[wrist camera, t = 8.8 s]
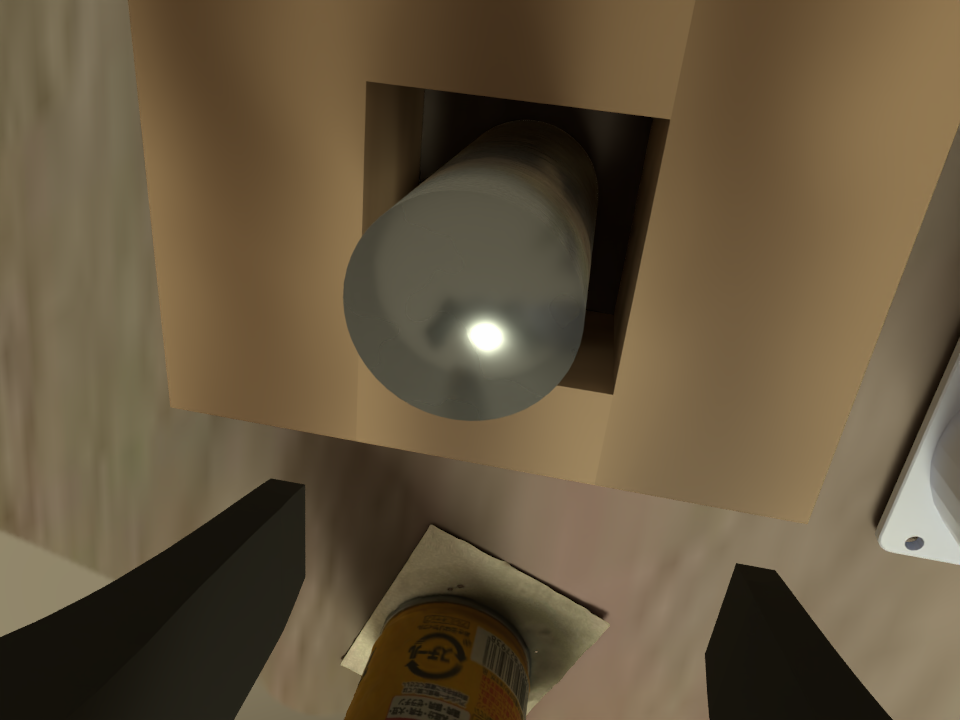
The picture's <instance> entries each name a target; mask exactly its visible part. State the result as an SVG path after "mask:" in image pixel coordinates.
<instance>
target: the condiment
mask: <svg viewBox="0 0 960 720" xmlns="http://www.w3.org/2000/svg"><path fill="white" fill-rule="evenodd" d="M457 585H464V586H465V587H463V588H457ZM448 588H453V589H454V590H453V591H448V590H447V589H448ZM609 626H610V624H609V623H607V622H605V621H604V620H602V619H601V618H599V617H597V616H595V615H593V614H591V613H590V612H589V611H588V610H587V609H586V608H584V607H582V606H580V605H578V604H576V603H575V602H573V601H572V600H570V599H568V598H566V597H565V596H563V595H561V594H559V593H557V592H555V591H553V590H552V589H550V588H549V587H548V586H546V585H544V584H542V583H541V582H539V581H537V580H535V579H533V578H531V577H529V576H527V575H525V574H524V573H522V572H520V571H518V570H516V569H514V568H513V567H511V566H510V565H509V564H508V563H507V562H505V561H500V560H498V559H496V558H493V557H491V556H489V555H487V554H486V553H484V552H481V551H480V550H478V549H477V548H475V547H474V546H472V545H470V544H469V543H467V542H465V541H463V540H460V539H457V538H455V537H454V536H452V535H450V534H448V533H446V532H444V531H442V530H440V529H439V528H437V527H435V526H433V525H430V527H429V528H428V530H427V531H426V533H425V534H424V536H423V538H422V539H421V541H420V542H419V544H418V545H417V547H416V548H415V550H414V551H413V553H412V554H411V556H410V558H409V559H408V561H407V563H406V564H405V565H404V567H403V569H402V570H401V572H400V573H399V575H398V576H397V578H396V579H395V581H394V582H393V584H392V585H391V587H390V588H389V590H388V591H387V593H386V594H385V596H384V597H383V599H382V600H381V602H380V603H379V605H378V606H377V608H376V610H375V611H374V613H373V614H372V616H371V617H370V619H369V620H368V622H367V623H366V625H365V627H364V628H363V630H362V631H361V633H360V634H359V636H358V637H357V639H356V641H355V642H354V644H353V645H352V647H351V648H350V650H349V651H348V653H347V655H346V656H345V658H344V659H343V661H342V663H341V664H340V665H342V666H344V667H347V668H349V669H351V670H352V671H354V672H356V673H358V674H360V675H362V676H361V680H360V682H359V684H358V687H357V689H356V693H355V694H354V698H353V700H352V702H351V705H350V706H349V708H348V710H347V713H346V717H345V719H344V720H526V715H527V714H528V713H529V711H530V710H531V709H532V708H533V707H534V706H535V705H536V704H537V703H538V702H539V701H540V700H541V698H542V697H543V696H544V695H545V694H546V693H547V692H548V691H549V690H550V689H552V687H553V686H554V685H555V684H557V683H558V682H559V681H560V680H561V679H562V678H563V676H564V675H565V673H566V672H567V671H568V670H569V669H570V668H571V667H572V666H573V665H574V664H575V662H576V661H577V660H578V659H579V658H580V657H581V656H582V654H583V653H584V652H585V651H586V650H587V649H588V648H590V647H591V646H592V645H593V644H594V643H595V642H596V641H597V640H598V639H599V637H600V636H601V635H602V634H603V633H604V632H605V630H606V629H607V628H608V627H609ZM535 651H538V652H537V653H535Z"/></svg>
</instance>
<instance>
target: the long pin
mask: <svg viewBox="0 0 960 720" xmlns="http://www.w3.org/2000/svg"><path fill="white" fill-rule="evenodd" d="M598 195H599V193H598V182H597V177H596V173H595V170H594V167H593V164H592V162H591V160H590V158H589V156H588V155H587V153H586V152H585V150H584V149H583V147H582V146H581V145H580V144H579V143H578V142H577V141H576V140H575V139H574V138H573V137H572V136H570V135H569V134H568V133H566V132H565V131H563V130H562V129H560V128H558V127H556V126H554V125H551V124H548V123H545V122H542V121H536V120H515V121H510V122H506V123H502V124H500V125H497V126H495V127H493V128H491V129H490V130H488V131H486V132H485V133H483V134H482V135H481V136H479V137H478V138H477V139H476V140H474V141H473V142H472V143H471V144H469V145H468V146H467V147H466V148H465V149H463V150H462V151H461V152H460V153H458V154H457V155H456V156H455V157H453V158H452V159H451V160H450V161H448V162H447V163H446V164H445V165H443V166H442V167H441V168H440V169H439V170H437V171H436V172H435V173H434V174H432V175H431V176H430V177H429V178H427V179H426V180H425V181H424V182H422V183H421V184H420V185H419V186H417V187H416V188H415V189H414V190H412V191H411V192H410V193H409V194H408V195H406V196H405V197H404V198H403V199H401V200H400V201H399V202H398V203H396V204H395V205H394V206H393V207H391V208H390V209H389V210H388V211H386V212H385V213H384V214H383V215H382V216H380V217H379V218H378V219H377V220H376V221H375V222H374V223H373V224H372V225H371V226H370V227H369V228H368V229H367V230H366V232H365V233H364V235H363V236H362V237H361V239H360V240H359V241H358V243H357V245H356V247H355V249H354V251H353V253H352V255H351V258H350V261H349V263H348V266H347V269H346V275H345V280H344V288H343V305H344V315H345V319H346V324H347V328H348V331H349V334H350V337H351V340H352V342H353V344H354V346H355V348H356V350H357V352H358V354H359V356H360V357H361V359H362V361H363V362H364V364H365V365H366V367H367V368H368V369H369V370H370V372H371V373H372V374H373V375H374V376H375V378H376V379H377V380H378V381H379V382H380V383H381V384H382V385H384V386H385V387H386V388H387V389H388V390H389V391H391V392H392V393H393V394H394V395H396V396H397V397H398V398H400V399H402V400H403V401H405V402H407V403H408V404H410V405H411V406H414V407H416V408H418V409H420V410H422V411H424V412H427V413H430V414H433V415H436V416H439V417H444V418H449V419H454V420H464V421H484V420H491V419H498V418H502V417H505V416H509V415H512V414H515V413H517V412H520V411H522V410H525V409H526V408H528V407H530V406H532V405H533V404H535V403H537V402H538V401H540V400H541V399H542V398H544V397H545V396H546V395H548V394H549V393H550V392H551V391H552V390H553V389H554V388H555V387H556V386H557V385H558V384H559V383H560V381H561V380H562V379H563V377H564V376H565V375H566V373H567V372H568V370H569V369H570V367H571V365H572V363H573V361H574V360H575V357H576V355H577V352H578V349H579V347H580V343H581V339H582V334H583V329H584V320H585V312H586V303H587V294H588V285H589V277H590V268H591V259H592V250H593V242H594V233H595V224H596V215H597V207H598Z"/></svg>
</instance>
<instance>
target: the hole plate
mask: <svg viewBox="0 0 960 720" xmlns="http://www.w3.org/2000/svg"><path fill="white" fill-rule="evenodd" d="M128 4H129V14H130V24H131V33H132V43H133V52H134V62H135V71H136V81H137V91H138V100H139V110H140V119H141V129H142V139H143V148H144V158H145V167H146V177H147V187H148V196H149V206H150V215H151V225H152V234H153V244H154V254H155V263H156V273H157V282H158V292H159V302H160V311H161V321H162V330H163V340H164V349H165V359H166V369H167V378H168V388H169V397H170V407H172V408H178V409H183V410H189V411H194V412H200V413H205V414H210V415H216V416H221V417H227V418H232V419H238V420H243V421H249V422H254V423H259V424H265V425H270V426H276V427H281V428H287V429H292V430H298V431H303V432H308V433H314V434H319V435H325V436H330V437H336V438H341V439H347V440H352V441H357V442H363V443H368V444H374V445H379V446H385V447H390V448H396V449H401V450H406V451H412V452H417V453H423V454H428V455H434V456H439V457H444V458H450V459H455V460H461V461H466V462H472V463H477V464H483V465H488V466H493V467H499V468H504V469H510V470H515V471H521V472H526V473H532V474H537V475H542V476H548V477H553V478H559V479H564V480H570V481H575V482H581V483H586V484H591V485H597V486H602V487H608V488H613V489H619V490H624V491H630V492H635V493H640V494H646V495H651V496H657V497H662V498H668V499H673V500H679V501H684V502H689V503H695V504H700V505H706V506H711V507H717V508H722V509H728V510H733V511H738V512H744V513H749V514H755V515H760V516H766V517H771V518H776V519H782V520H787V521H793V522H798V523H804V524H808V522H809V519H810V516H811V514H812V511H813V508H814V506H815V503H816V501H817V498H818V495H819V493H820V490H821V487H822V485H823V482H824V479H825V477H826V474H827V472H828V469H829V466H830V464H831V461H832V458H833V456H834V453H835V451H836V448H837V445H838V443H839V440H840V437H841V435H842V432H843V429H844V427H845V424H846V422H847V419H848V416H849V414H850V411H851V408H852V406H853V403H854V400H855V398H856V395H857V393H858V390H859V387H860V385H861V382H862V379H863V377H864V374H865V372H866V369H867V366H868V364H869V361H870V358H871V356H872V353H873V350H874V348H875V345H876V343H877V340H878V337H879V335H880V332H881V329H882V327H883V324H884V321H885V319H886V316H887V314H888V311H889V308H890V306H891V303H892V300H893V298H894V295H895V292H896V290H897V287H898V285H899V282H900V279H901V277H902V274H903V271H904V269H905V266H906V264H907V261H908V258H909V256H910V253H911V250H912V248H913V245H914V242H915V240H916V237H917V235H918V232H919V229H920V227H921V224H922V221H923V219H924V216H925V213H926V211H927V208H928V206H929V203H930V200H931V198H932V195H933V192H934V190H935V187H936V184H937V182H938V179H939V177H940V174H941V171H942V169H943V166H944V163H945V161H946V158H947V156H948V153H949V150H950V148H951V145H952V142H953V140H954V137H955V134H956V132H957V129H958V127H959V124H960V0H128ZM425 89H432V90H440V91H448V92H456V93H464V94H472V95H480V96H488V97H496V98H504V99H512V100H520V101H528V102H536V103H544V104H552V105H560V106H568V107H576V108H584V109H592V110H600V111H608V112H616V113H624V114H632V115H640V116H648V117H653V120H652V125H651V130H650V136H649V141H648V146H647V151H646V156H645V161H644V166H643V171H642V176H641V181H640V186H639V191H638V196H637V201H636V206H635V211H634V216H633V221H632V227H631V232H630V237H629V242H628V247H627V252H626V257H625V262H624V267H623V272H622V277H621V282H620V287H619V292H618V297H617V302H616V307H615V313H614V315H611V314H605V313H599V312H592V311H586V312H585V320H584V329H583V334H582V339H581V343H580V347H579V349H578V352H577V355H576V357H575V360H574V361H573V363H572V365H571V367H570V369H569V370H568V372H567V373H566V375H565V376H564V377H563V379H562V380H561V381H560V383H559V384H558V385H557V386H556V387H555V388H554V389H553V390H552V391H551V392H550V393H549V394H548V395H546V396H545V397H544V398H542V399H541V400H540V401H538V402H537V403H535V404H533V405H532V406H530V407H528V408H526V409H525V410H522V411H520V412H517V413H515V414H512V415H509V416H505V417H502V418H498V419H491V420H484V421H464V420H454V419H449V418H444V417H439V416H436V415H433V414H430V413H427V412H424V411H422V410H420V409H418V408H416V407H414V406H411V405H410V404H408V403H407V402H405V401H403V400H402V399H400V398H398V397H397V396H396V395H394V394H393V393H392V392H391V391H389V390H388V389H387V388H386V387H385V386H384V385H382V384H381V383H380V382H379V381H378V380H377V379H376V378H375V376H374V375H373V374H372V373H371V372H370V370H369V369H368V368H367V367H366V365H365V364H364V362H363V361H362V359H361V357H360V356H359V354H358V352H357V350H356V348H355V346H354V344H353V342H352V340H351V337H350V334H349V331H348V328H347V324H346V319H345V315H344V305H343V288H344V280H345V275H346V269H347V266H348V263H349V261H350V258H351V255H352V253H353V251H354V249H355V247H356V245H357V243H358V241H359V240H360V239H361V237H362V236H363V235H364V233H365V232H366V230H367V229H368V228H369V227H370V226H371V225H372V224H373V223H374V222H375V221H376V220H377V219H378V218H379V217H380V216H382V215H383V214H384V213H385V212H386V211H388V210H389V209H390V208H391V207H393V206H394V205H395V204H396V203H398V202H399V201H400V200H401V199H403V198H404V197H405V196H406V195H408V194H409V193H410V192H411V191H412V190H414V189H415V188H416V187H417V186H419V173H420V157H421V141H422V125H423V108H424V92H425Z"/></svg>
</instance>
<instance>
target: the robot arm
mask: <svg viewBox="0 0 960 720" xmlns="http://www.w3.org/2000/svg"><path fill="white" fill-rule="evenodd" d="M875 536H876V538H877V541H878V543H879V545H880V546H881V547H882V548H883V549H884V550H886V551H889V552H893V553H898V554H904V555H909V556H914V557H920V558H925V559H930V560H936V561H941V562H947V563H952V564H957V565H960V338H959V340H958V342H957V345H956V347H955V349H954V352H953V354H952V356H951V358H950V361H949V363H948V365H947V368H946V370H945V372H944V375H943V377H942V379H941V381H940V384H939V386H938V388H937V391H936V393H935V395H934V398H933V400H932V402H931V404H930V407H929V409H928V411H927V414H926V416H925V418H924V421H923V423H922V425H921V427H920V430H919V432H918V434H917V437H916V439H915V441H914V444H913V446H912V448H911V450H910V453H909V455H908V457H907V460H906V462H905V464H904V467H903V469H902V471H901V473H900V476H899V478H898V480H897V483H896V485H895V487H894V490H893V492H892V494H891V497H890V499H889V501H888V503H887V506H886V508H885V510H884V513H883V515H882V517H881V520H880V522H879V524H878V526H877V529H876V533H875ZM915 536H918V538H917V539H916V540H915V541H912V542H905V541H906V540H907V539H908V538H910V537H915ZM304 579H305V485H304V484H298V483H293V482H287V481H282V480H276V479H269V480H268V481H266V482H265V483H263V484H262V485H260V486H259V487H257V488H256V489H254V490H253V491H252V492H250V493H249V494H247V495H246V496H244V497H243V498H241V499H240V500H239V501H237V502H236V503H234V504H233V505H231V506H230V507H229V508H227V509H226V510H224V511H223V512H221V513H220V514H218V515H217V516H216V517H214V518H213V519H211V520H210V521H208V522H207V523H205V524H204V525H202V526H201V527H199V528H198V529H196V530H195V531H193V532H192V533H190V534H189V535H187V536H186V537H184V538H183V539H181V540H180V541H178V542H177V543H175V544H174V545H172V546H171V547H169V548H168V549H166V550H165V551H163V552H161V553H160V554H158V555H157V556H155V557H153V558H152V559H150V560H148V561H147V562H145V563H143V564H142V565H140V566H138V567H137V568H135V569H133V570H132V571H130V572H129V573H127V574H125V575H124V576H122V577H120V578H119V579H117V580H115V581H113V582H112V583H110V584H108V585H106V586H105V587H103V588H101V589H99V590H97V591H95V592H94V593H92V594H90V595H88V596H86V597H84V598H82V599H80V600H78V601H76V602H75V603H72V604H70V605H68V606H67V607H65V608H63V609H61V610H59V611H57V612H55V613H53V614H51V615H49V616H47V617H45V618H43V619H40V620H38V621H36V622H34V623H32V624H30V625H27V626H25V627H23V628H20V629H18V630H16V631H13V632H11V633H9V634H7V635H4V636H2V637H0V720H234V719H235V717H236V715H237V713H238V711H239V710H240V708H241V706H242V704H243V703H244V701H245V699H246V697H247V696H248V693H249V692H250V690H251V688H252V687H253V685H254V683H255V681H256V680H257V678H258V676H259V674H260V672H261V671H262V669H263V667H264V665H265V663H266V662H267V660H268V658H269V656H270V654H271V653H272V651H273V649H274V647H275V645H276V643H277V642H278V640H279V638H280V636H281V634H282V632H283V630H284V628H285V626H286V623H287V621H288V619H289V616H290V614H291V611H292V609H293V607H294V604H295V602H296V599H297V597H298V594H299V591H300V589H301V586H302V584H303V581H304ZM705 663H706V681H707V695H708V708H709V719H710V720H893V719H892V718H891V717H890V716H889V715H888V714H887V713H886V711H885V710H884V709H883V708H882V707H881V706H880V704H879V703H878V702H877V701H876V700H875V698H874V697H873V696H872V695H871V694H870V693H869V691H868V690H867V689H866V688H865V687H864V685H863V684H862V683H861V682H860V680H859V679H858V678H857V677H856V675H855V674H854V673H853V672H852V670H851V669H850V668H849V667H848V665H847V664H846V663H845V662H844V660H843V659H842V658H841V657H840V655H839V654H838V653H837V651H836V650H835V649H834V648H833V646H832V645H831V644H830V642H829V641H828V640H827V638H826V637H825V636H824V634H823V633H822V632H821V631H820V629H819V628H818V627H817V625H816V624H815V623H814V621H813V620H812V619H811V617H810V616H809V615H808V613H807V612H806V611H805V609H804V608H803V607H802V605H801V604H800V603H799V601H798V600H797V599H796V597H795V596H794V594H793V593H792V592H791V590H790V589H789V588H788V586H787V585H786V584H785V582H784V581H783V580H782V579H781V577H780V576H779V575H778V573H777V572H776V571H775V570H770V569H765V568H759V567H754V566H748V565H743V564H737V563H736V566H735V569H734V571H733V574H732V577H731V580H730V583H729V586H728V589H727V592H726V595H725V598H724V600H723V603H722V606H721V609H720V612H719V615H718V618H717V621H716V624H715V627H714V630H713V632H712V635H711V638H710V641H709V644H708V647H707V650H706V653H705Z"/></svg>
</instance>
